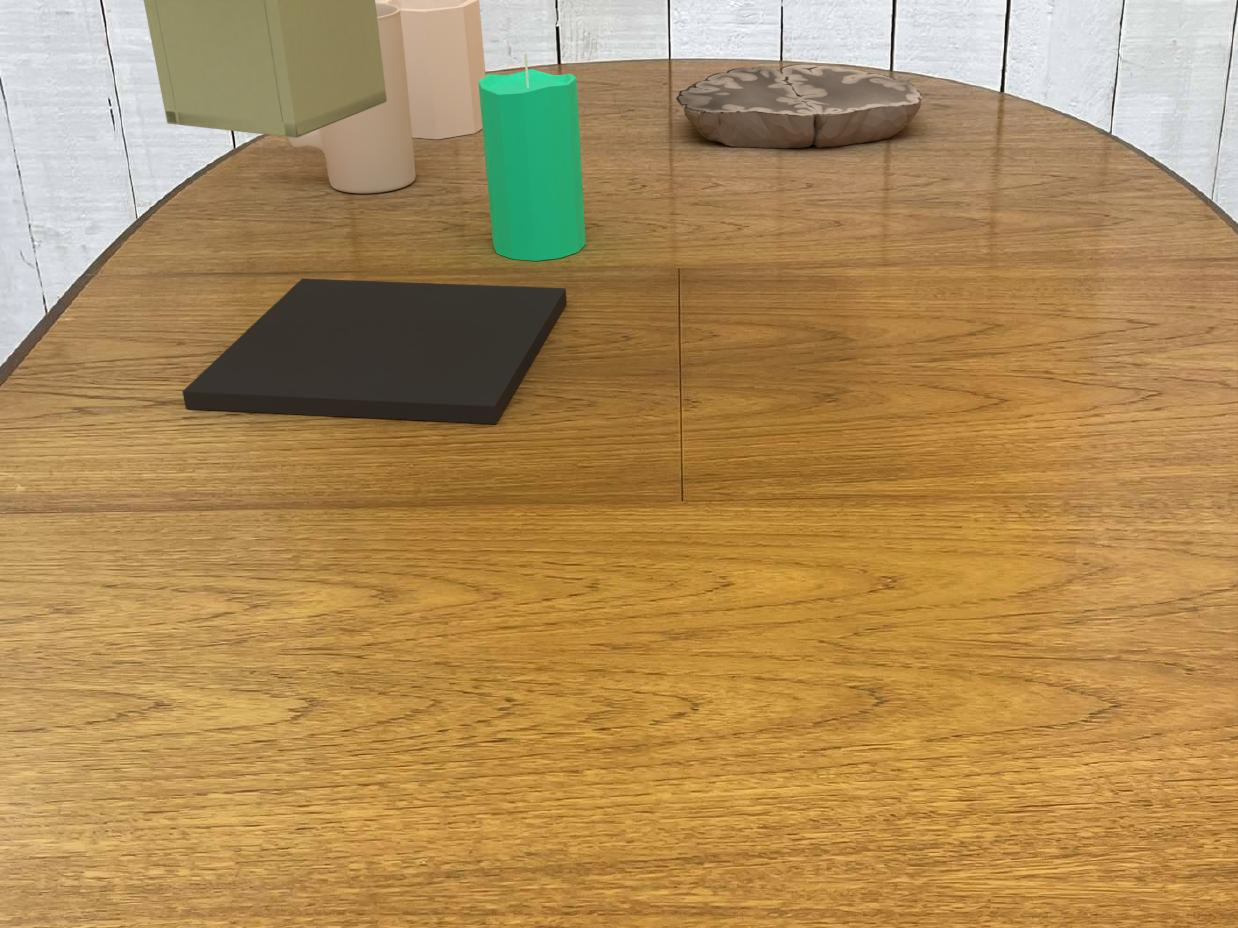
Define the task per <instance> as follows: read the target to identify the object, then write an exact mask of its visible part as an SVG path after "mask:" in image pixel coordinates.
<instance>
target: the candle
mask: <svg viewBox="0 0 1238 928" xmlns="http://www.w3.org/2000/svg"><path fill="white" fill-rule="evenodd" d="M523 55H524V57H523V58H524V68H525V70H523V71H519V72H515V73H510V74H491V73H490V74H488V73H487V74H486V76H485V77H484V78H482V79H481V80H480V81H479V82H478V84H479V96H480V107H481V118H482V129H481V130H482V139H483V149H484V151H483V152H484V161H485V172H486V183H487V195H488V204H489V216H490V217H489V218H490V227H491V239H492V246H493V249H494V251H495V253H496V254H497V255H500V256H502V257H506V258H508V259H511V260H520V261H530V262H531V261H532V262H537V261H545V260H556V259H562V258H566V257H568V256H571V255H574V254H577V253H579V252H580V251H581V250H582V249H583V248H584V247H585V246H586V245H587V241H586V225H585V223H586V221H585V205H584V189H583V188H584V187H583V169H582V152H581V151H582V150H581V133H580V131H581V130H580V118H579V117H580V115H579V113H580V112H579V98H578V80H577V77H576V76H575V75H574V74H572V73H565V74H557V75H555V74H551V73H547V72H544V71H540V70H536V69H533V68H530V69H529V68H528V67H529V66H528V53H524V54H523Z"/></svg>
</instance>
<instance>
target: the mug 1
mask: <svg viewBox="0 0 1238 928" xmlns="http://www.w3.org/2000/svg"><path fill="white" fill-rule="evenodd" d="M376 2H377V1H375V4H376V12H377V21H378V30H379V38H380V47H381V56H382V64H383V73H384V82H385V90H386V99H387V101H386V102H385V103H382V104H380V105H377V106H375V107H372V108H370V109H367V110H365V111H362V112H360V113H357V114H355V115H352V116H350V117H347V118H345V119H342V120H340V121H337V122H335V123H332V124H330V125H327V126H325V127H322V128H320V129H317V130H315V131H312V132H310V133H307V134H305V135H302V136H300V137H297V138H295V137H286V136H285V138H286V139H287V141H288V143H289V144H290V146H291V147H292V148H294V149H303V148H312V149H316V150H319V151H321V152H322V153H323V155H324V158H325V163H326V170H327V176H328V181H329V185H330V187H332V188H333V189H334V190H337V191H340V192H343V193H347V194H358V195H359V194H360V195H361V194H362V195H363V194H365V195H367V194H379V193H380V194H381V193H387V192H391V191H392V192H393V191H396V190H399V189H403V188H406V187H408V186H409V185H411V184H412V183H414V182H415V180H416V176H417V175H416V174H417V173H416V164H415V151H414V140H413V139H414V138H412V129H411V119H410V108H409V98H408V87H407V76H406V65H405V54H404V44H403V34H402V25H401V17H400V11H401V8H400V7H398V6H396V5H392V4H387V3H376Z"/></svg>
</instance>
